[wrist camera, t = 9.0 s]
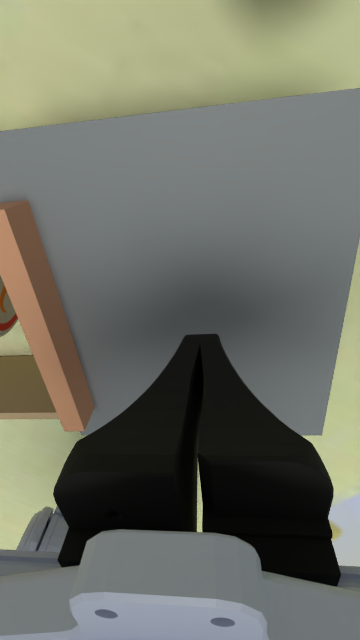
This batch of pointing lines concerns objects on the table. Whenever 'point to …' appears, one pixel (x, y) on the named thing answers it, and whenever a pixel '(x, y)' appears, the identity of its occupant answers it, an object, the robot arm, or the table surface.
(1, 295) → the roller toy
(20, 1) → the table surface
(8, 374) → the box
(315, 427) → the sliding lid
